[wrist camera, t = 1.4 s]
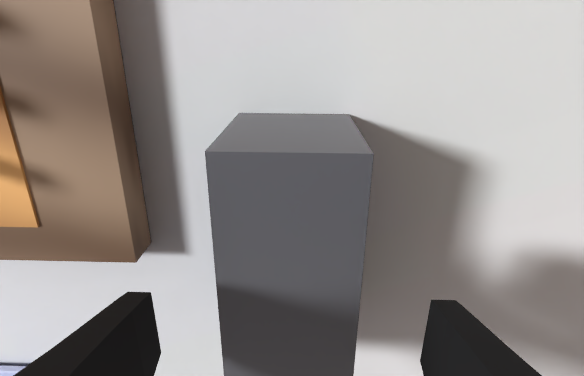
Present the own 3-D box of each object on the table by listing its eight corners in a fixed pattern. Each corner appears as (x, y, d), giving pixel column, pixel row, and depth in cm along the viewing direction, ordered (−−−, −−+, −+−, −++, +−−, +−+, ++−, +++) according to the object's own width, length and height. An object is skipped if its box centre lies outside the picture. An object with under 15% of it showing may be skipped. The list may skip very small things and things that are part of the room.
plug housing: (336, 313, 17) (349, 418, 12) (248, 311, 17) (227, 414, 12) (349, 114, 13) (373, 154, 9) (239, 113, 13) (205, 151, 9)
